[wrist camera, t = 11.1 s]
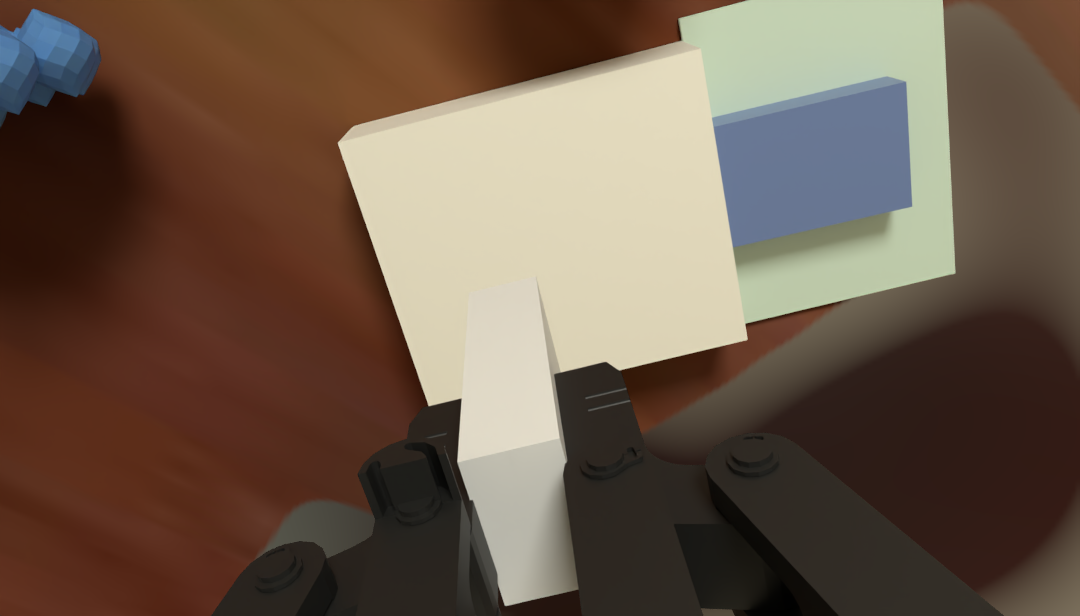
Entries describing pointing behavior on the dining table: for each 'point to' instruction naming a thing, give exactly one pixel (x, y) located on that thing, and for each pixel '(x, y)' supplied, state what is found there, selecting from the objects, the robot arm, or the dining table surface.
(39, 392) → the dining table surface
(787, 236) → the mat
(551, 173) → the cream flat block
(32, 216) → the dining table surface
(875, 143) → the blue rectangular block
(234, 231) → the dining table surface
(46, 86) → the grapes
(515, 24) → the dining table surface
